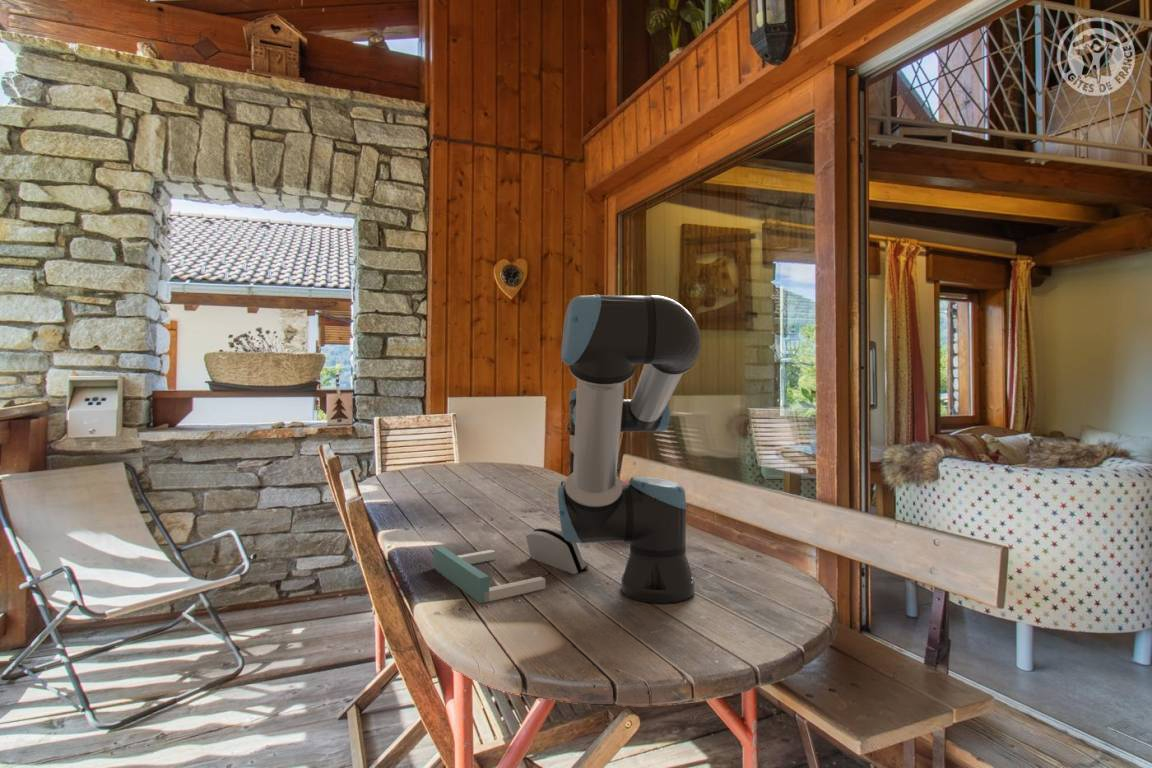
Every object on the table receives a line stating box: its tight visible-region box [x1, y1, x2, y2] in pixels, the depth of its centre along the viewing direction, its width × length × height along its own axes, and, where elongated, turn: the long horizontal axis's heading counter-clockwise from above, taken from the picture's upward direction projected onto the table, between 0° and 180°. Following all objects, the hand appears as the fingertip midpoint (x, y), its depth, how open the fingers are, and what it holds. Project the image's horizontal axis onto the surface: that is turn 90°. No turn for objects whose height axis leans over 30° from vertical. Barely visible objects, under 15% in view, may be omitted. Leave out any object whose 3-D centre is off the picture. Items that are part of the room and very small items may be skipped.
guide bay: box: [432, 545, 546, 604], centre depth 133 cm, size 26×15×5 cm, turn 33°
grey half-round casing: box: [525, 526, 590, 575], centre depth 142 cm, size 17×5×10 cm, turn 41°
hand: (584, 546), depth 148 cm, fingers closed
